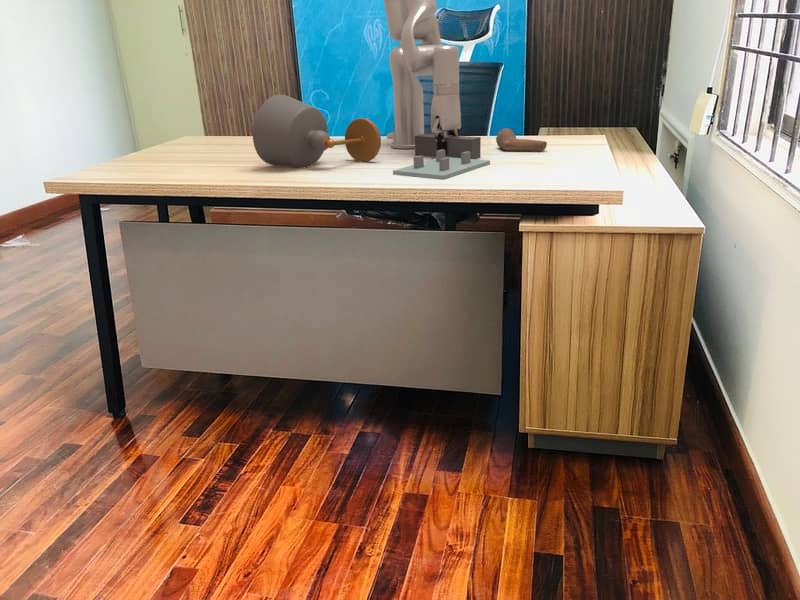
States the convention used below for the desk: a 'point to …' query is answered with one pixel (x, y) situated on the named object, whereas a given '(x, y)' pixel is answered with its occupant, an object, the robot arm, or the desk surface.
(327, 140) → the light fixture
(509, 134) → the pipe
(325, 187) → the desk surface
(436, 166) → the base
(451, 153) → the dark gray block
